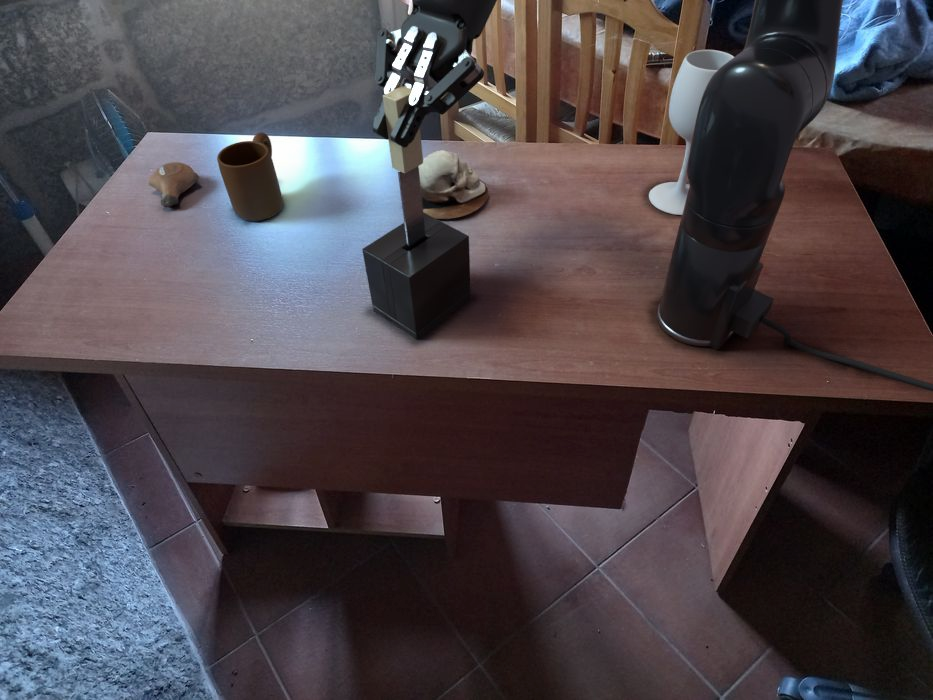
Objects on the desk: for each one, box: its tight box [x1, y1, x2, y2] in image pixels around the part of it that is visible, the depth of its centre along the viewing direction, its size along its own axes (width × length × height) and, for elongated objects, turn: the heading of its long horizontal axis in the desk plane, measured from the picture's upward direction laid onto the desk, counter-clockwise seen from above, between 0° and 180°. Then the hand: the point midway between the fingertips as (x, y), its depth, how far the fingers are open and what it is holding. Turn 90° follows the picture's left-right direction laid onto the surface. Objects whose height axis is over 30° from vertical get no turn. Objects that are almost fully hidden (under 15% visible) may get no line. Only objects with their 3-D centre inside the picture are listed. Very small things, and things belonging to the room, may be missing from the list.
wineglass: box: [648, 49, 735, 216], centre depth 92 cm, size 9×9×21 cm
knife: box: [382, 85, 426, 252], centre depth 72 cm, size 2×3×20 cm
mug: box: [216, 131, 284, 222], centre depth 99 cm, size 12×8×9 cm, turn 171°
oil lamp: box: [147, 161, 200, 208], centre depth 103 cm, size 9×4×8 cm
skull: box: [419, 149, 489, 220], centre depth 100 cm, size 12×10×10 cm
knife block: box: [361, 212, 472, 340], centre depth 81 cm, size 8×10×10 cm
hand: (389, 139), depth 66 cm, fingers closed on knife, 2 cm apart
